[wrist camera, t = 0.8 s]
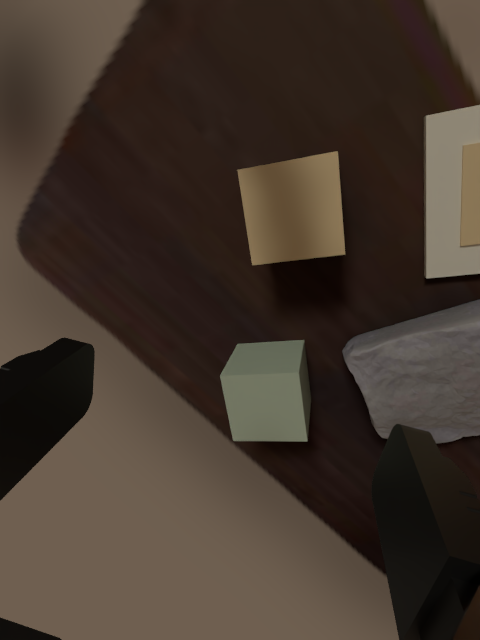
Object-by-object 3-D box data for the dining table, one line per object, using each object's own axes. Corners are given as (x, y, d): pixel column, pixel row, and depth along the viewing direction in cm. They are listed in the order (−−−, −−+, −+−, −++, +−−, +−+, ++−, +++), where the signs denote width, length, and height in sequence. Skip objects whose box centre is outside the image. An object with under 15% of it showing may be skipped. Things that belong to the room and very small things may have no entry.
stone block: (528, 384, 29) (509, 276, 25) (562, 433, 25) (546, 314, 21) (373, 416, 34) (335, 329, 29) (381, 462, 30) (338, 368, 25)
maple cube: (336, 155, 25) (337, 151, 20) (342, 239, 27) (345, 254, 22) (255, 170, 26) (237, 170, 21) (266, 249, 28) (252, 265, 23)
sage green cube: (304, 339, 30) (298, 372, 25) (311, 399, 32) (307, 441, 27) (237, 343, 31) (220, 375, 26) (247, 400, 33) (233, 440, 28)
